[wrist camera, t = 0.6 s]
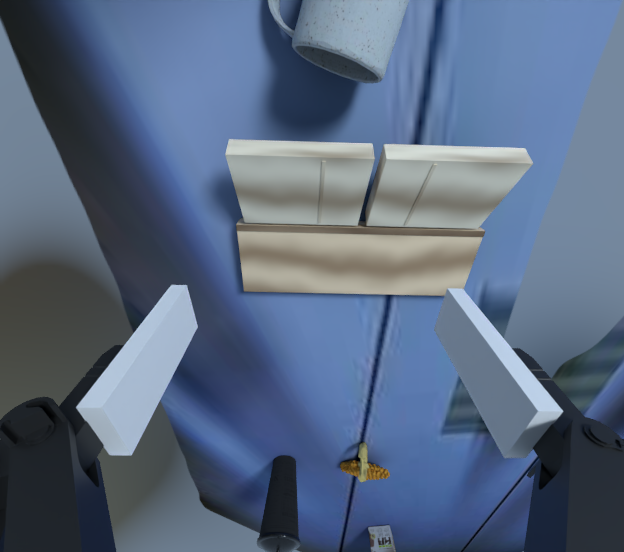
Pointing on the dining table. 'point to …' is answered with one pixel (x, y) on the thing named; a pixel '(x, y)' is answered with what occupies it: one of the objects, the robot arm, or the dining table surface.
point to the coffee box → (381, 539)
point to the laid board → (355, 258)
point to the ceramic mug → (346, 35)
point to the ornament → (364, 467)
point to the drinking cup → (281, 509)
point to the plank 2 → (442, 184)
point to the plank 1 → (300, 180)
